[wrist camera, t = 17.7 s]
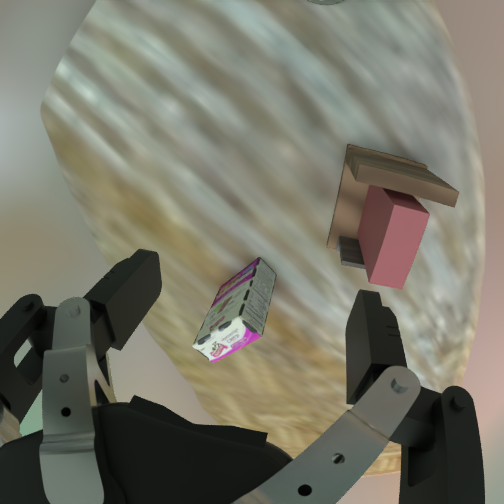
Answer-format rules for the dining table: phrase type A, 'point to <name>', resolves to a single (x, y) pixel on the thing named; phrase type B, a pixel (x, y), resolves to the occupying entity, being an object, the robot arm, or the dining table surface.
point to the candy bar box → (237, 312)
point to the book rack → (382, 175)
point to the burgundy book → (390, 235)
